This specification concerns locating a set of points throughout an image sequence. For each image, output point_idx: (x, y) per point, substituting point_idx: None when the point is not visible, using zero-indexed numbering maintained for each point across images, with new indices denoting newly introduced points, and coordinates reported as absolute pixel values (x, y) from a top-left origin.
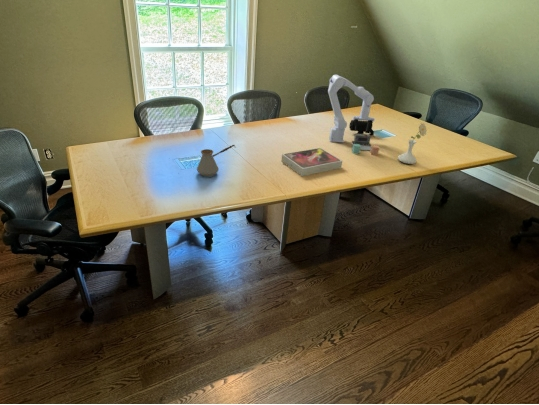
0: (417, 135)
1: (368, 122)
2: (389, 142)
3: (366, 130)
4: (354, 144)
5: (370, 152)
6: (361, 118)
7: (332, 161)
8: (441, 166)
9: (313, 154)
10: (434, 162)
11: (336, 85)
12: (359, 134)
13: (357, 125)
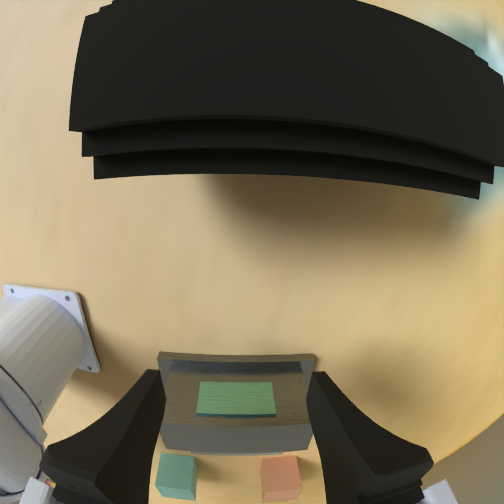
0: None
1: (341, 494)
2: (468, 297)
3: (308, 395)
4: (161, 489)
5: (262, 463)
6: None
7: None
8: (456, 447)
9: (50, 484)
10: (462, 435)
11: None
12: (200, 436)
13: (149, 464)
